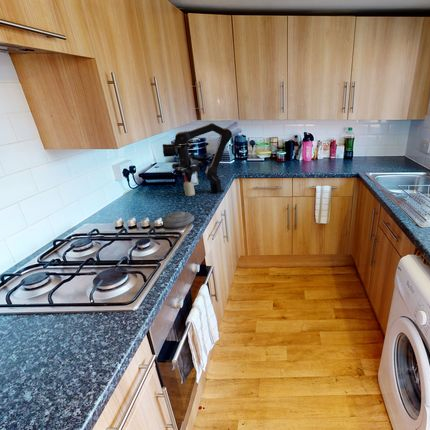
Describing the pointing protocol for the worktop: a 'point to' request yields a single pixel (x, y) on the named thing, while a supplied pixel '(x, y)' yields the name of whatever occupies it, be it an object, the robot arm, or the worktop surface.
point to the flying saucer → (177, 219)
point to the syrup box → (195, 178)
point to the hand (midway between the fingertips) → (187, 181)
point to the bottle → (189, 188)
